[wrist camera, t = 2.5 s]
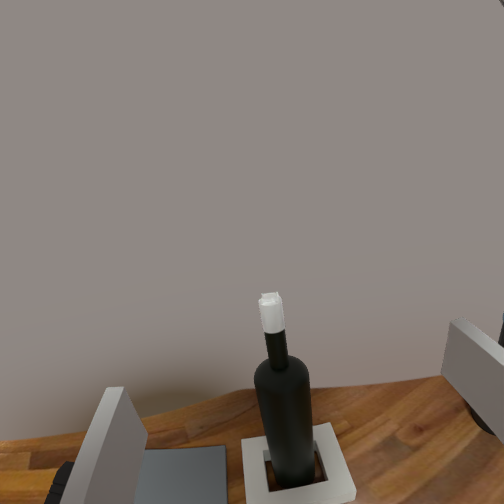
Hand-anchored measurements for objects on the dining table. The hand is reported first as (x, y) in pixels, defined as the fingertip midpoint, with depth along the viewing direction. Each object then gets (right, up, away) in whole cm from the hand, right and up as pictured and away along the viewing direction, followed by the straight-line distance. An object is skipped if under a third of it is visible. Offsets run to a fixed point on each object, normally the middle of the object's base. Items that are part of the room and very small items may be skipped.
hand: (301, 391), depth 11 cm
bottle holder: (+4, -27, +26) cm, 38 cm away
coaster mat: (-15, -31, +25) cm, 43 cm away
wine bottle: (+4, -27, +26) cm, 38 cm away
